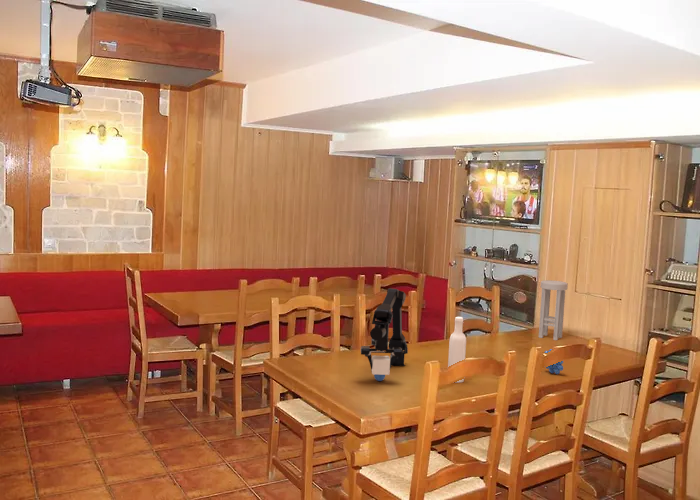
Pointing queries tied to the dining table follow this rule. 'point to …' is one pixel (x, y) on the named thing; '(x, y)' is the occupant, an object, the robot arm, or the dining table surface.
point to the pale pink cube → (380, 365)
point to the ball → (379, 377)
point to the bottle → (457, 344)
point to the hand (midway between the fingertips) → (380, 369)
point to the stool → (559, 311)
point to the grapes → (555, 366)
